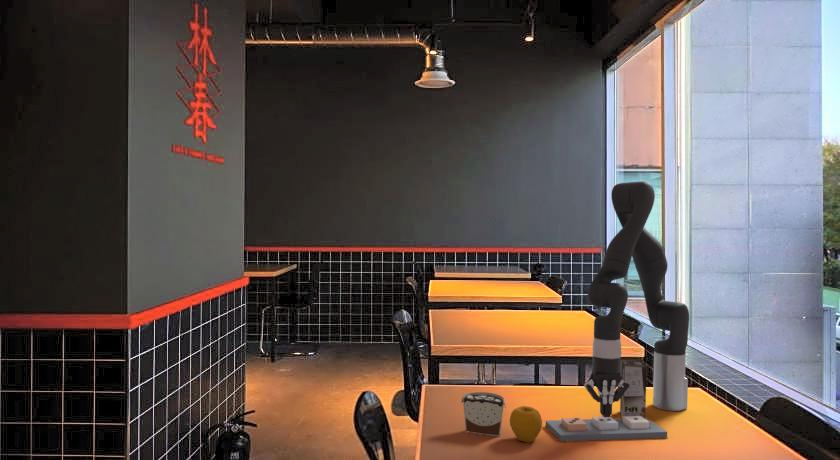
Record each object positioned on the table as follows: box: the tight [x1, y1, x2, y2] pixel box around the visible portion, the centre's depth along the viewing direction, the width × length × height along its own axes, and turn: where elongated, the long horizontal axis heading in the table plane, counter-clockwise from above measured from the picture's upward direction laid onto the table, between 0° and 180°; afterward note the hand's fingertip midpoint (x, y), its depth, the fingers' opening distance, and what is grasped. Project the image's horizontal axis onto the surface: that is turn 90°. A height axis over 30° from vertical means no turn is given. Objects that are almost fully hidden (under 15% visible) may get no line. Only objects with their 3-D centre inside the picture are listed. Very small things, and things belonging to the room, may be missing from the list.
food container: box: [460, 391, 507, 438], centre depth 172 cm, size 12×6×10 cm, turn 71°
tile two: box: [591, 416, 618, 430], centre depth 172 cm, size 5×5×3 cm
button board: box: [545, 417, 668, 442], centre depth 172 cm, size 30×12×2 cm, turn 98°
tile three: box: [561, 417, 587, 431], centre depth 171 cm, size 5×5×3 cm
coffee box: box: [619, 359, 648, 418], centre depth 186 cm, size 9×6×16 cm
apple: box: [509, 405, 543, 443], centre depth 165 cm, size 9×8×9 cm
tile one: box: [622, 416, 649, 429], centre depth 173 cm, size 5×5×3 cm
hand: (605, 416), depth 172 cm, fingers closed
